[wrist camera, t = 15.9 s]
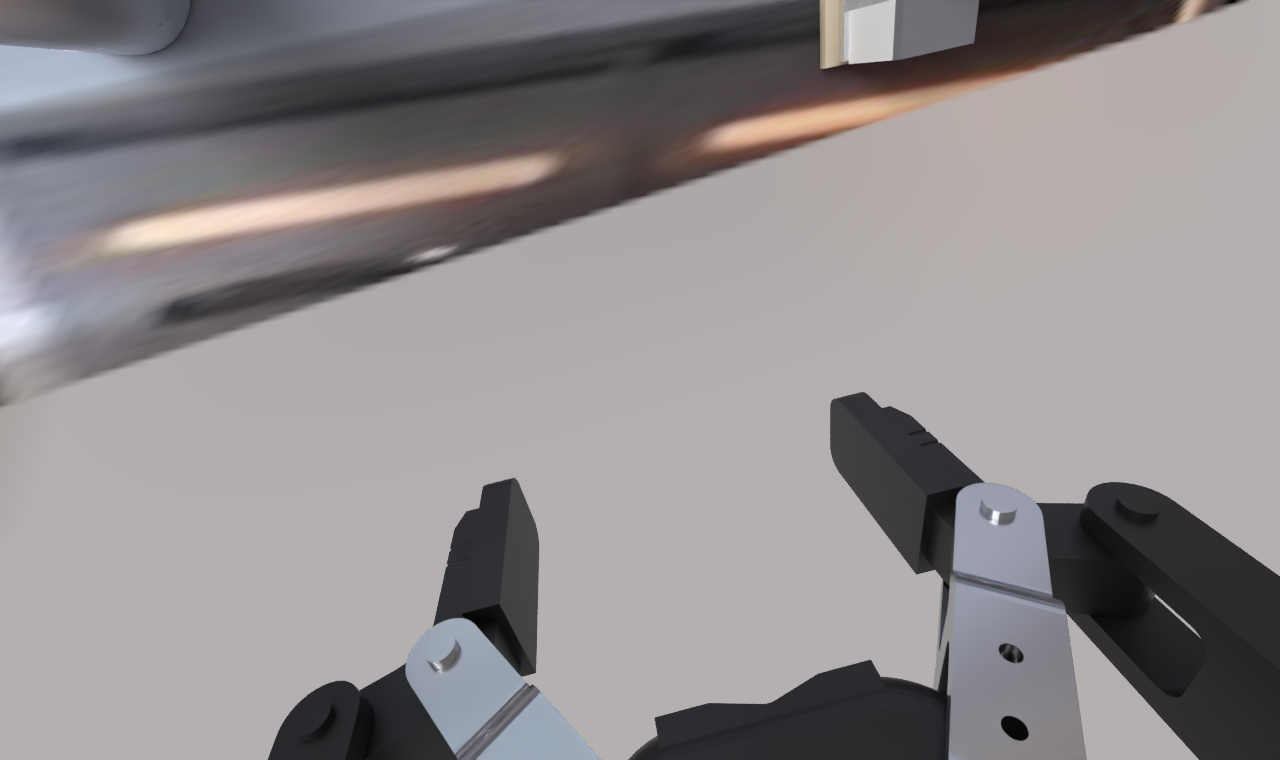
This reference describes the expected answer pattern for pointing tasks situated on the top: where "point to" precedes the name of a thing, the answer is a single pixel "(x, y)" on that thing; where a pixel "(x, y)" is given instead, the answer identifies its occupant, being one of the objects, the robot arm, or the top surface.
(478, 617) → the robot arm
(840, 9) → the rail
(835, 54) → the wood panel
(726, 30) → the top surface
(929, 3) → the mounted modules
